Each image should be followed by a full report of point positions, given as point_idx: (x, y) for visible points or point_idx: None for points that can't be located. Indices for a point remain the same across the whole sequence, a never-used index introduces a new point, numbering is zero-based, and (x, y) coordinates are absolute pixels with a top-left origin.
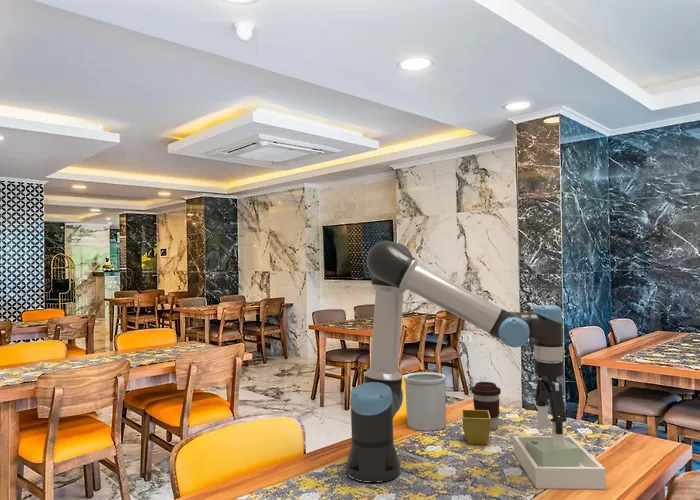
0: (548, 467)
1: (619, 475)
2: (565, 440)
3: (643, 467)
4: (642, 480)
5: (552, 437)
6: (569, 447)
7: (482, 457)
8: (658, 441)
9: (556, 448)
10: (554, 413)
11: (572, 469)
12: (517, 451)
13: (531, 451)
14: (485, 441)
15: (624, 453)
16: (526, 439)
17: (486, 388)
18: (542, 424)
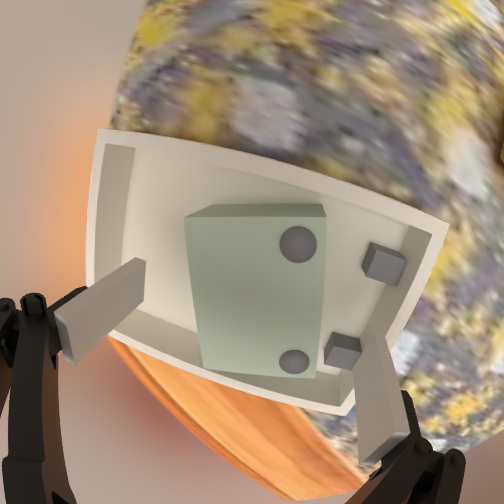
0: (96, 175)
1: (182, 376)
2: (283, 375)
3: (216, 431)
4: (157, 389)
5: (121, 273)
6: (210, 344)
7: (407, 76)
8: (317, 493)
9: (207, 294)
10: (19, 344)
11: (87, 244)
12: (370, 190)
13: (285, 210)
14: (502, 155)
15: (291, 449)
16: (412, 269)
17: None
18: (367, 364)
